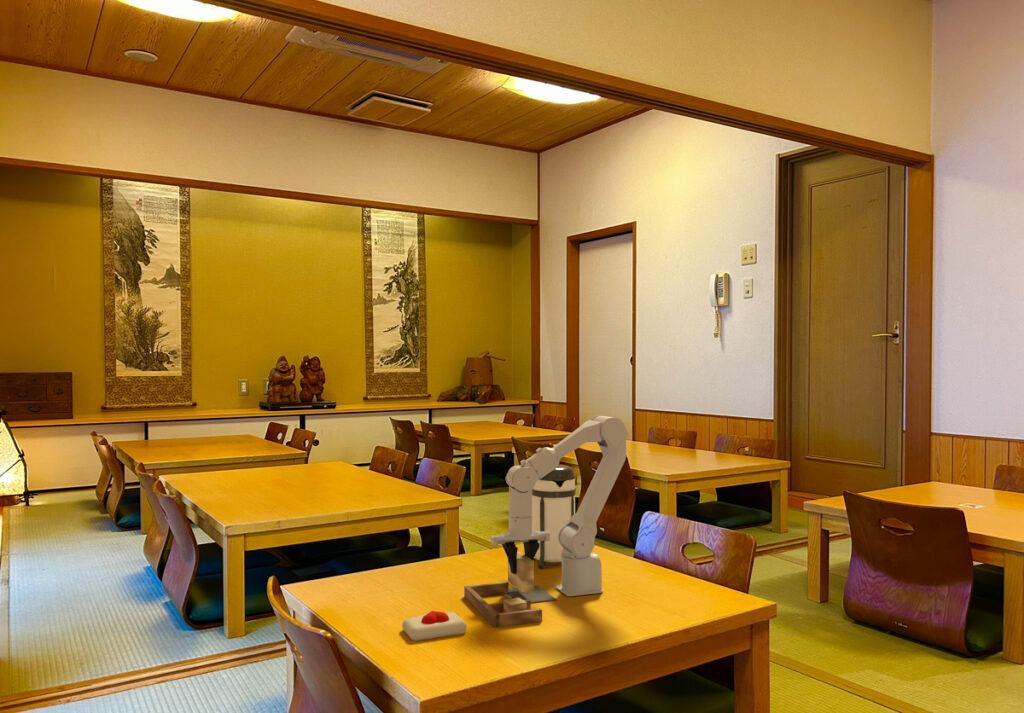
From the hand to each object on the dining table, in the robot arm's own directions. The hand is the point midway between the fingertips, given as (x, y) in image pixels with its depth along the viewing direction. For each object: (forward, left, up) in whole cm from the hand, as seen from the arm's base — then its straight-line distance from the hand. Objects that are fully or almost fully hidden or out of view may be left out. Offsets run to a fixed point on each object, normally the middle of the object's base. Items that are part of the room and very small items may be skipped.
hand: (520, 572), depth 185 cm
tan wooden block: (0, 0, -3) cm, 3 cm away
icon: (+25, +16, -6) cm, 31 cm away
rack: (+7, +7, -6) cm, 11 cm away
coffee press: (-19, -27, -6) cm, 34 cm away
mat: (-2, 0, -6) cm, 6 cm away
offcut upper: (+6, +14, -4) cm, 16 cm away
